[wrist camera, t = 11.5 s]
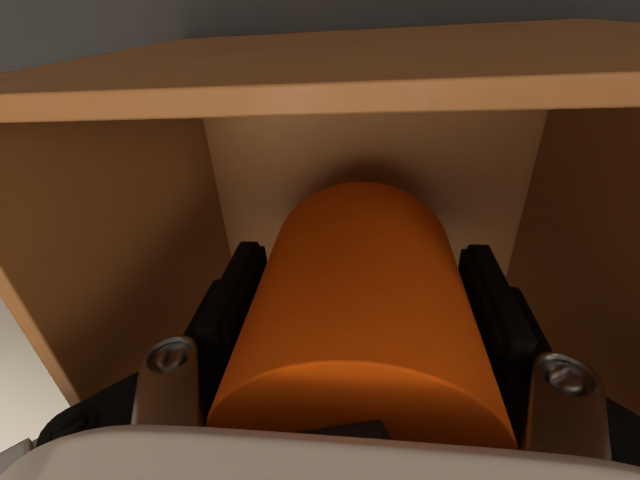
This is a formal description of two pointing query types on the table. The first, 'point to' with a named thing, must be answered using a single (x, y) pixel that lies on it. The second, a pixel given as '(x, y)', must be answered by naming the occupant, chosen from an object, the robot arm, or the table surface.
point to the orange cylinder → (363, 330)
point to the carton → (320, 175)
